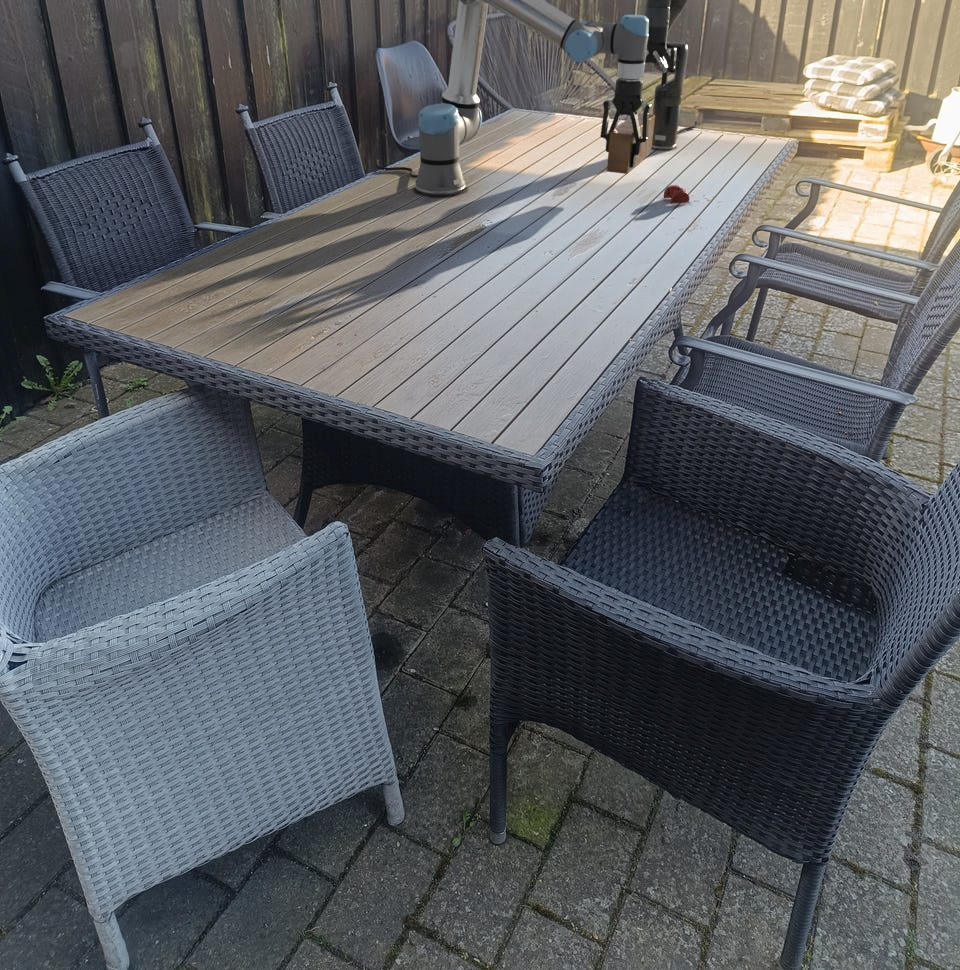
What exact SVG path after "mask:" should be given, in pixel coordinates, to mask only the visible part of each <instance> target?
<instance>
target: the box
mask: <svg viewBox="0 0 960 970" xmlns="http://www.w3.org/2000/svg"><path fill="white" fill-rule="evenodd" d="M637 113H638V122H639V127H640V132H641V137H642V126H643V113H642V112H637ZM654 121H655V115H653V113H652V114H650V113H649V133H648V140H647V141H646V142H642V143H641V149H640V154H639V155H636V164H635V166H634V167H633V168H632V167H631V157H632V147H633V143H634V142H635V136H634V131H633V126H632V121H631V118H630V117H628V118H627V119H626V120H624V121H623V122H622V123H621V124H618V125H617V127H616V129H614V130H613V131H611V132H610V141H609V152H607V153H608V154H607V165H606V172H607V173H615V174H624V175H628V174H629V173H630V172H631V171H633V169H634V168H635V167H636V166H638V165H639V163H641V162H642V161H643V160H644V159H645V158H646V157H647V156H648V155H649V154H650V153H651V152H652V148H651V147H652V138H653V129H654Z"/></svg>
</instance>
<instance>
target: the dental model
mask: <svg viewBox="0 0 960 970" xmlns="http://www.w3.org/2000/svg"><path fill="white" fill-rule="evenodd" d="M687 191H688V190H687V189H686V188H682V187H681V186H679V185H676V184H674V185H673V184H672V185H669V186H667V187H666V188H665V189H664V191H663V199H670V201H669V202H670V204H671V205H672V204H673V205H675V204H685V203H686V204H687V203H689V202H690V195H689V193H688V192H687Z"/></svg>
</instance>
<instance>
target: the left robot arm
mask: <svg viewBox="0 0 960 970" xmlns="http://www.w3.org/2000/svg"><path fill="white" fill-rule="evenodd" d="M489 6H490V7H492V8H494V9H495V10H497V11H499V12H500V13H501V14H504V15H505V16H506V17H509V18H510V19H512V20H514V21H515V22H517V23H518V24H520V25H522V26H523V27H524V28H527V29H528V30H530V31H531V32H533V33H535V34H536V35H538V36H540V37H542V38H543V39H544V40H547V41H548V42H550V43H551V44H553V45H555V46H556V47H558V48H559V49H561V50H563V51H564V52H565V53H566V55H567V57H568V58H569V59H570V60H571V61H572V62H576V63H584V62H588V61H590V60H591V59H592V58H594V57H596V56H597V55H599V54H610V55H617V65H616V66H617V67H616V78H617V79H616V80H615V87H614V88H615V89H614V96H613V98H612V99H606V100H604V101H603V103H602V105H603V116H602V122H601V128H600V135H599V136H600V138H602V139H604V140H605V153H608V152H609V141H610V132H611V131H613V130H614V129H616V128H617V127H618V126H619V122H620V120H621V117H622V116H625V115H626V116H629V118H631V121H632V126H633V131H634V136H635V142H634V143H633V147H632V157H631V167H632V168H633V167H634V166H635V164H636V155H639V154H640V149H641V143H642V142H646V141H647V140H648V133H649V114H650V111H651V110H652V108H653V105H652V103H647V102H645V101H644V100H643V87H644V80H643V79H644V77H645V69H646V68H645V67H646V62H645V58H646V50H647V42H648V36H649V35H648V28H649V19H648V18H647V17H646V16H644V14H624V15H623V16H622V17H621V19H620V22H605V21H604V22H603V21H594V20H590V21H578V20H576V19H575V18H573V17H572V16H570V15H568V14H567V13H565V12H563V11H562V10H561V9H559V8H557V7H555V6H553V4H550V3H549V2H547V1H546V0H458V1H457V10H456V19H455V27H454V37H453V43H452V51H451V59H450V68H449V76H448V85H447V89H446V90H445V91H444V92H442V93H441V101H440V103H433V104H429V105H427V106H425V107H422V109H421V110H420V111H419V113H418V122H417V124H418V136H419V138H418V139H419V157H420V158H419V159H420V161H419V162H420V164H419V168H418V172H417V174H414V170H413V168H411V167H406V166H393V167H392V166H391V167H390V168H388V166H387V167H386V166H380V165H379V162H380V159H378V158H377V159H376V160H375V162H374V163H375V167H376V169H378V170H381V171H408V172H409V176H410V178H413V179H416V180H415V185H414V186H415V192H417V193H418V194H420V195H424V196H430V197H450V196H455V195H459V194H461V193H463V192H464V191H466V181H465V179H464V176H463V172H462V169H461V165H460V146H461V145H463V144H465V143H468V142H469V141H471V140H472V139H473V138H474V137H476V135H477V134H478V133H479V131H480V130H481V126H482V125H483V114H482V111H481V109H480V103H481V99H480V97H479V96H478V94H477V88H478V80H479V73H480V66H481V60H482V54H483V53H482V52H483V46H484V39H485V32H486V24H487V18H488V10H489ZM613 106H614V108H615V110H616V111H615V114H614V117H613V120H612V121H611V122H612V123H611V124H610V127H609V122H610V116H611V108H612V107H613ZM640 108H641V110H642V112H643V113H642V114H643V126H642V137H641V132H640V127H639V122H638V113H639V112H638V111H639V109H640ZM608 128H609V130H608ZM635 167H636V166H635ZM635 167H634V168H635ZM634 168H633V169H634ZM384 169H385V170H384Z"/></svg>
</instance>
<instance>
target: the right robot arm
mask: <svg viewBox="0 0 960 970" xmlns="http://www.w3.org/2000/svg"><path fill="white" fill-rule="evenodd" d="M688 2H689V0H645V7H644V12H643V16H646V17H647V18H648V19H649V28H648V35H649V36H648V42H647V50H646V58H645V64H649V63H651V64H653V69H654V71H655V72H657V73H662V75H661V81H660V82H661V83H658V84H656V86H655V89H654V97H653V98H654V99H653V105H652V115H655V121H654V129H653V138H652V147H651V149H654V150H662V151H663V150H664V151H667V150H674V149H675V148H676V147H677V144H676V143H677V136H678V134H680V133H683V132H685V131H688V130H693V129H695V128H697V126H698V121H697V120H696V121H694V125H692V126H688V127H684V128H681V129H679V121H680V113H681V105H682V97H683V89H684V82H685V75H686V70H687V64H688V58H689V46H688V44H687V43H685V42H674V41H673V42H671V41H668V35H669V32H670V30H671V29H672V26H673V25H674V23H675V22H676V20H677V19H678V17H679V16H680V15H681V14H682V12H683V10H684V9H685V8H686V6H687V4H688ZM669 74H674V76H673V77H672V78H671V79H669ZM668 79H669V80H668ZM678 129H679V130H678Z"/></svg>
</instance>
